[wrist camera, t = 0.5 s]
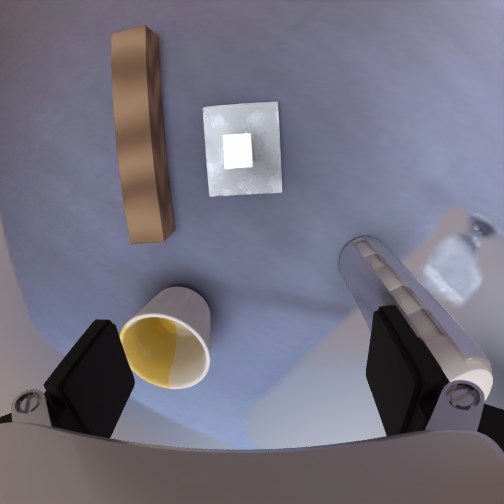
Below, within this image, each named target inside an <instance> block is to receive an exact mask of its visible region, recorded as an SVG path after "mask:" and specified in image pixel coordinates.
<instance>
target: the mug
mask: <svg viewBox="0 0 504 504" xmlns="http://www.w3.org/2000/svg"><path fill="white" fill-rule="evenodd" d="M210 321H211V316H210V310H209V307H208V305H207V303H206V301H205V300H204V299H203V298H202V297H201V296H200V295H199V294H198V293H196V292H195V291H193V290H191V289H188V288H184V287H170V288H166V289H164V290H162V291H161V292H160V293H158V294H157V295H156V296H155V297H154V298H153V299H152V300H151V301H150V302H149V303H147V304H146V305H145V306H144V307H143V308H142V309H141V310H139V311H138V312H137V313H136V314H135V315H134V316H133V317H132V318H131V319H129V320H128V321H127V323H126V324H125V325H124V326H123V328H122V330H121V333H120V336H119V337H120V340H121V343H122V346H123V349H124V352H125V354H126V357H127V360H128V363H129V366H130V368H131V369H132V370H133V371H134V372H135V373H136V374H137V375H138V376H140V377H141V378H143V379H144V380H146V381H148V382H150V383H152V384H154V385H157V386H160V387H164V388H169V389H182V388H187V387H190V386H193V385H195V384H197V383H198V382H200V381H201V380H202V379H203V378H204V377H205V376H206V374H207V372H208V370H209V367H210V357H211V335H210Z"/></svg>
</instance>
